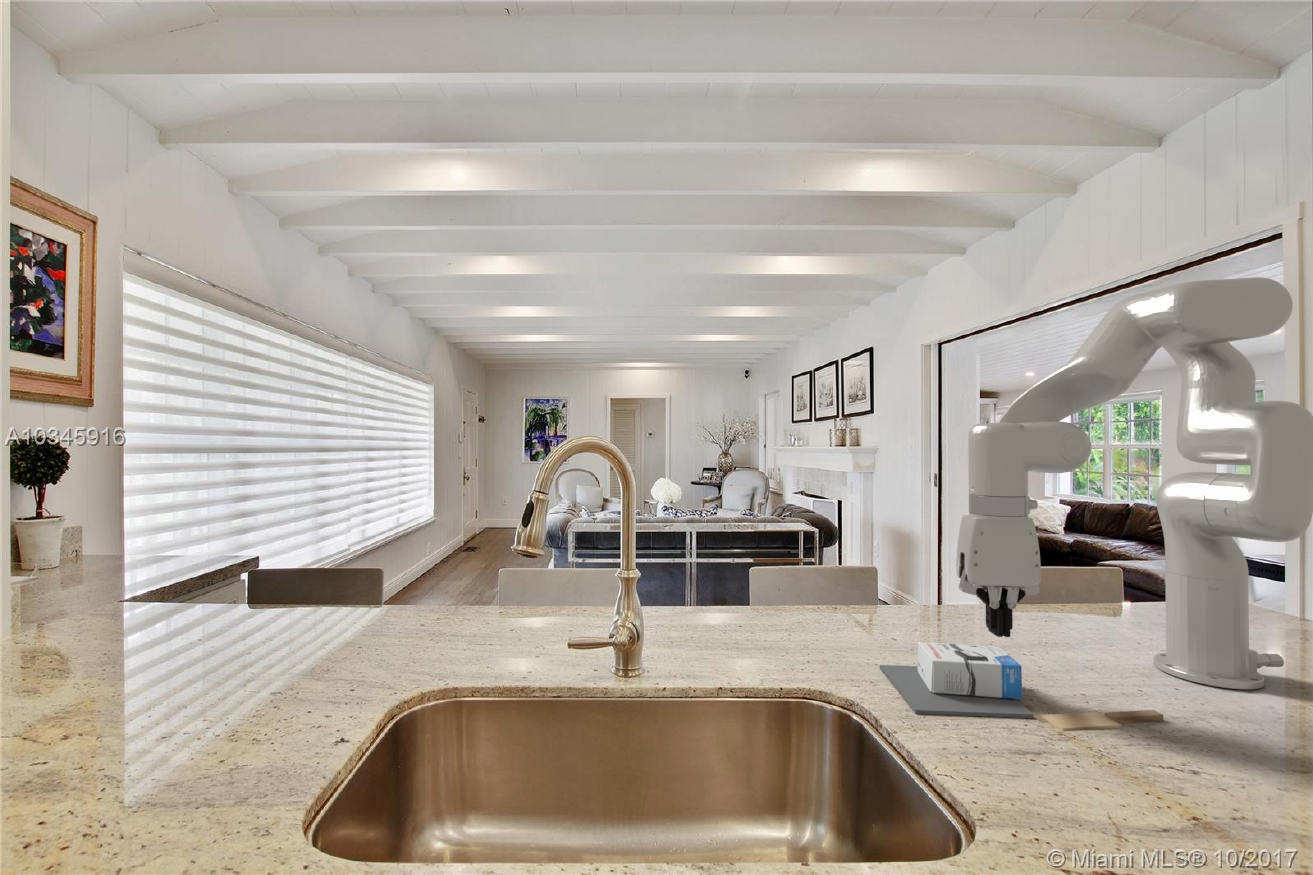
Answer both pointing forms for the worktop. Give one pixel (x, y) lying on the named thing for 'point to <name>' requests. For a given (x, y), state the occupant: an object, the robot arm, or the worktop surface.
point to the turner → (1101, 719)
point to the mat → (948, 697)
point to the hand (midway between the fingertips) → (999, 633)
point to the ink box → (969, 670)
